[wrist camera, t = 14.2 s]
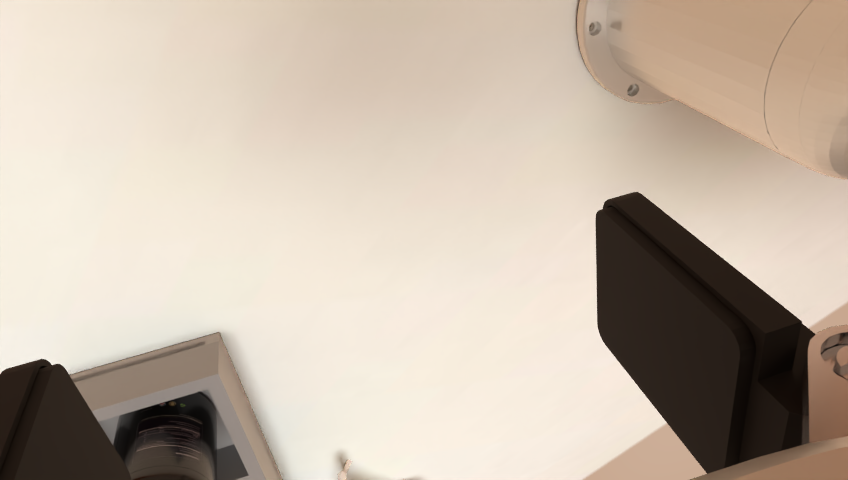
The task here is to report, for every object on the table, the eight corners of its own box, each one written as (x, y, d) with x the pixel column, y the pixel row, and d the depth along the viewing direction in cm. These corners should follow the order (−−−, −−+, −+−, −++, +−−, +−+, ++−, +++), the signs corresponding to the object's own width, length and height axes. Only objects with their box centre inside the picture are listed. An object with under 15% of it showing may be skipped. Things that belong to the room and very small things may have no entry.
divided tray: (218, 332, 46) (218, 373, 42) (295, 510, 57) (300, 555, 54) (60, 377, 45) (45, 424, 41) (171, 551, 56) (167, 601, 52)
